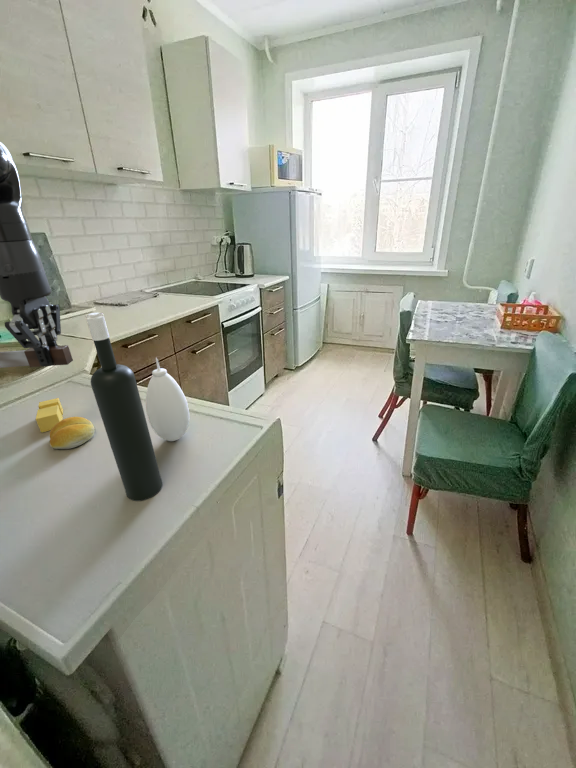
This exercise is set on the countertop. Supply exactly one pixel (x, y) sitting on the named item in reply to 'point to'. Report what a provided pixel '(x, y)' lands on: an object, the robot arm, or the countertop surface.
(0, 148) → the robot arm
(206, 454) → the countertop surface
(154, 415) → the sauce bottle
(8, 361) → the knife
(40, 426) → the butter block
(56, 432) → the bread roll
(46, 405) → the butter pat
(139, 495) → the wine bottle
